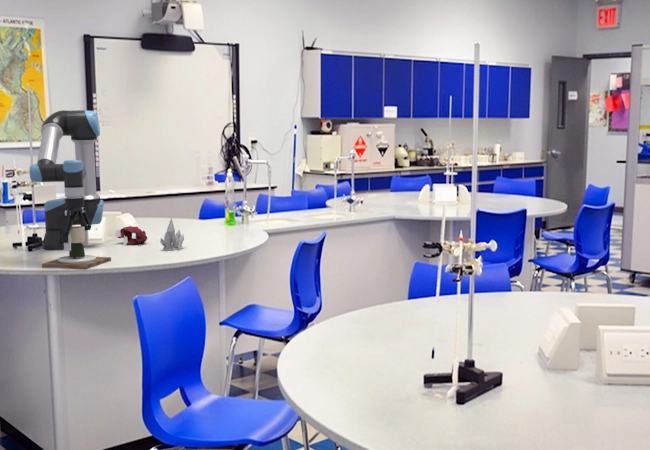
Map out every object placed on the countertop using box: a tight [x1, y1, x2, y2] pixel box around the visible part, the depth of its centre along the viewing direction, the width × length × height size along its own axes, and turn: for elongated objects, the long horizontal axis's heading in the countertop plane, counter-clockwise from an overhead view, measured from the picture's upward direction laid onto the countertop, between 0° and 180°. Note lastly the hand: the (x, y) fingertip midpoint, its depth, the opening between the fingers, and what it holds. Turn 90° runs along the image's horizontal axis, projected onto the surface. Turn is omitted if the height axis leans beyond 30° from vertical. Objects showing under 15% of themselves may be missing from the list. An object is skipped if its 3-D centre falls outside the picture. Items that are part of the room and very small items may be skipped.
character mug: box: [68, 225, 86, 258], centre depth 312 cm, size 11×7×13 cm, turn 163°
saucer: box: [57, 254, 97, 264], centre depth 313 cm, size 15×15×1 cm
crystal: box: [159, 217, 185, 252], centre depth 350 cm, size 10×13×15 cm
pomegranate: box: [114, 225, 148, 246], centre depth 366 cm, size 15×13×9 cm
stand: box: [41, 256, 112, 270], centre depth 313 cm, size 20×20×2 cm
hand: (76, 248), depth 312 cm, fingers open, 13 cm apart
